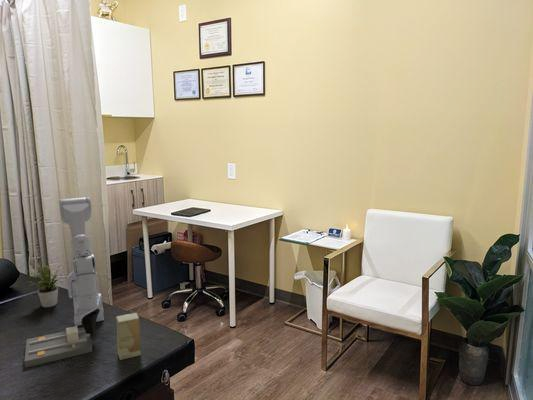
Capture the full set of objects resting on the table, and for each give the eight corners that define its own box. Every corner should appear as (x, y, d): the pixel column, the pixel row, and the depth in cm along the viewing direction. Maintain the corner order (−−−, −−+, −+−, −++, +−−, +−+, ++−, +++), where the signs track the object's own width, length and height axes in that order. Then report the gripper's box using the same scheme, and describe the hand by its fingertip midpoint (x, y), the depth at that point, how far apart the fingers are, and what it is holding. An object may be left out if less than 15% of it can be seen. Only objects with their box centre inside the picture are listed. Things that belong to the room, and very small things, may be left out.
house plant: (18, 306, 159) (13, 265, 156) (54, 293, 170) (50, 256, 167) (37, 315, 151) (32, 273, 148) (73, 302, 162) (69, 262, 159)
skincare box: (119, 360, 122) (116, 322, 119) (117, 353, 125) (114, 316, 123) (142, 355, 124) (139, 317, 122) (139, 348, 128) (136, 311, 126)
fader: (77, 334, 133) (77, 325, 132) (78, 340, 129) (77, 331, 128) (67, 336, 131) (66, 328, 131) (67, 343, 127) (66, 334, 127)
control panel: (88, 331, 139) (88, 324, 138) (92, 351, 127) (91, 343, 126) (27, 345, 131) (26, 337, 130) (25, 367, 118) (24, 359, 118)
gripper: (84, 284, 137) (88, 321, 139) (62, 302, 123) (66, 344, 125) (105, 284, 137) (108, 322, 139) (85, 302, 122) (89, 344, 125)
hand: (90, 332), depth 132 cm, fingers closed
